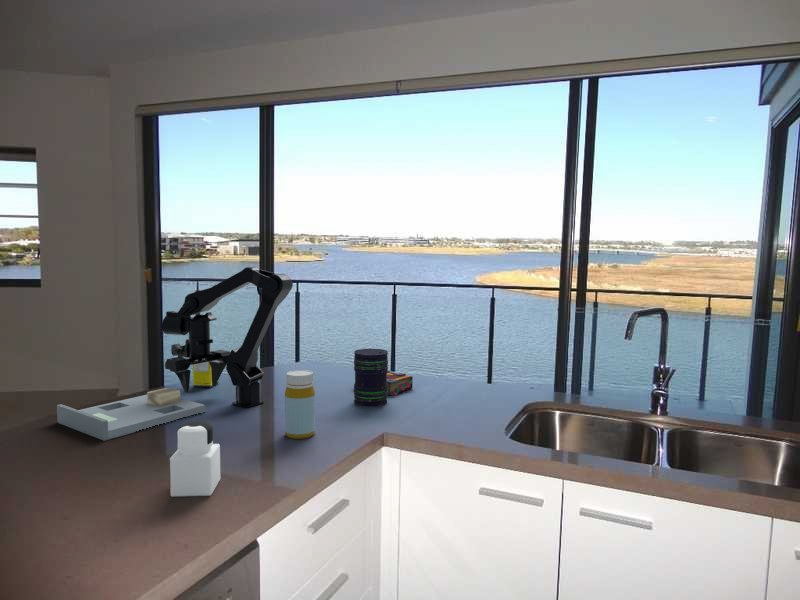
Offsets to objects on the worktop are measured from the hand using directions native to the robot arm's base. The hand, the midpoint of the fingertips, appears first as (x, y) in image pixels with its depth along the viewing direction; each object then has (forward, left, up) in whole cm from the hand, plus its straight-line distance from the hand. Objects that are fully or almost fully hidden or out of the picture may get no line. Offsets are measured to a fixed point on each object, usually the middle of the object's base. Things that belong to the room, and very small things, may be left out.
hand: (200, 389), depth 156 cm
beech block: (0, +11, -1) cm, 12 cm away
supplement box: (+13, -12, -4) cm, 18 cm away
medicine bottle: (-49, +36, -3) cm, 61 cm away
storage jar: (-41, -28, -3) cm, 49 cm away
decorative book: (-35, -43, -4) cm, 56 cm away
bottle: (-44, +4, -3) cm, 44 cm away
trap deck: (0, +19, -3) cm, 20 cm away
